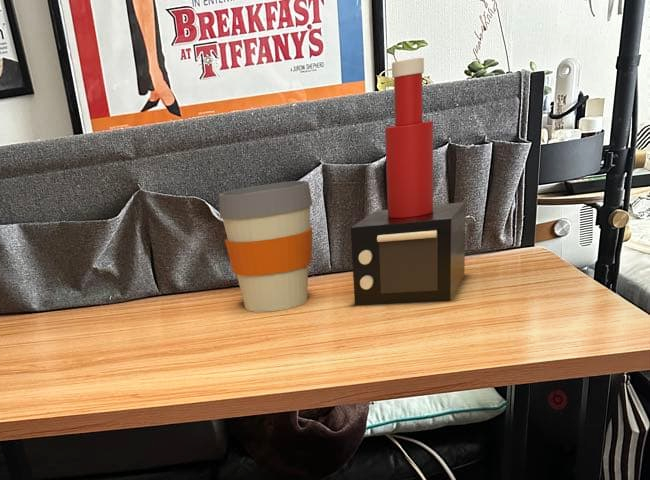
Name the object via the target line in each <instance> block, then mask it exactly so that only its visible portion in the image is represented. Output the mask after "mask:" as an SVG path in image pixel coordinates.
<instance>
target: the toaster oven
mask: <svg viewBox="0 0 650 480" xmlns="http://www.w3.org/2000/svg"><path fill="white" fill-rule="evenodd" d="M466 203H467V202H466V201H461V202H460V201H459V202H451V203H441V204H433V212H432V213H430V214H426V215H422V216H416V217H408V218H389V217H388V209H380V210H375V211H373V212H372V213H370V214H369V215H367V216H365V217H364V218H363V219H362V220H360V221H358V222H357V223H355V224H354V225H353V226H351V227H350V240H351V241H350V243H351V244H350V245H351V259H352V260H351V261H352V276H353V280H352V281H353V295H354V298H353V299H354V307H357V306H376V305H378V306H379V305H396V304H398V305H399V304H417V303H439V302H440V303H441V302H451V301H452V299H453V298H454V296H455V294H456V292H457V290H458V289H459V286H460V285H461V283H462V281H463V279H464V278H465V266H466V265H465V263H466V261H465V260H466V259H465V257H466V211H467V210H466V207H467V206H466V205H467V204H466Z"/></svg>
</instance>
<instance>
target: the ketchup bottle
mask: <svg viewBox="0 0 650 480" xmlns="http://www.w3.org/2000/svg"><path fill="white" fill-rule="evenodd" d="M424 69H425V58H424V57H415V58H408V59H402V60H398V61H392V62H391V77H392V79H393V91H394V125H392V126H387V127H385V129H384V133H385V134H384V135H385V137H384V138H385V139H384V140H385V165H386V167H385V170H386V197H387V198H386V201H387V210H388V217H389V218H408V217H416V216H422V215H426V214H430V213H432V212H433V205H434V121H433V120H427V121H423V74H424V72H425V70H424Z"/></svg>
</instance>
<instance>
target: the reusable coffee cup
mask: <svg viewBox="0 0 650 480" xmlns="http://www.w3.org/2000/svg"><path fill="white" fill-rule="evenodd" d="M218 206H219V218H220V219H221V220H222V222H223V226H224V230H225V234H226V238H225V240H224V242H225V246H226V250H227V254H228V257H229V258H228V259H229V262H230V265H231V270H232V273H233V274H234V275H236V277H237V281H238V285H239V289H240V292H241V293H240V294H241V297H242V301H243V305H244V308H245V310H247V311H248V312H249V311H250V312H255V313H256V312H257V313H267V312H276V311H277V312H278V311H284V310H288V309H292V308H296V307H299V306H301V305H304V304H306V303H307V301H308V290H309V289H308V283H309V265H310V264H311V263H312V256H313V255H312V254H313V253H312V252H313V251H312V250H313V227H312V226H311V225H310V222H311V206H313V199H312V193H311V187H310V183H309V180H293V181H292V180H291V181H282V182H274V183H267V184H260V185H253V186H248V187H247V186H246V187H242V188H236V189H233V190H228V191H225V192H222V193H219V194H218Z"/></svg>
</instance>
